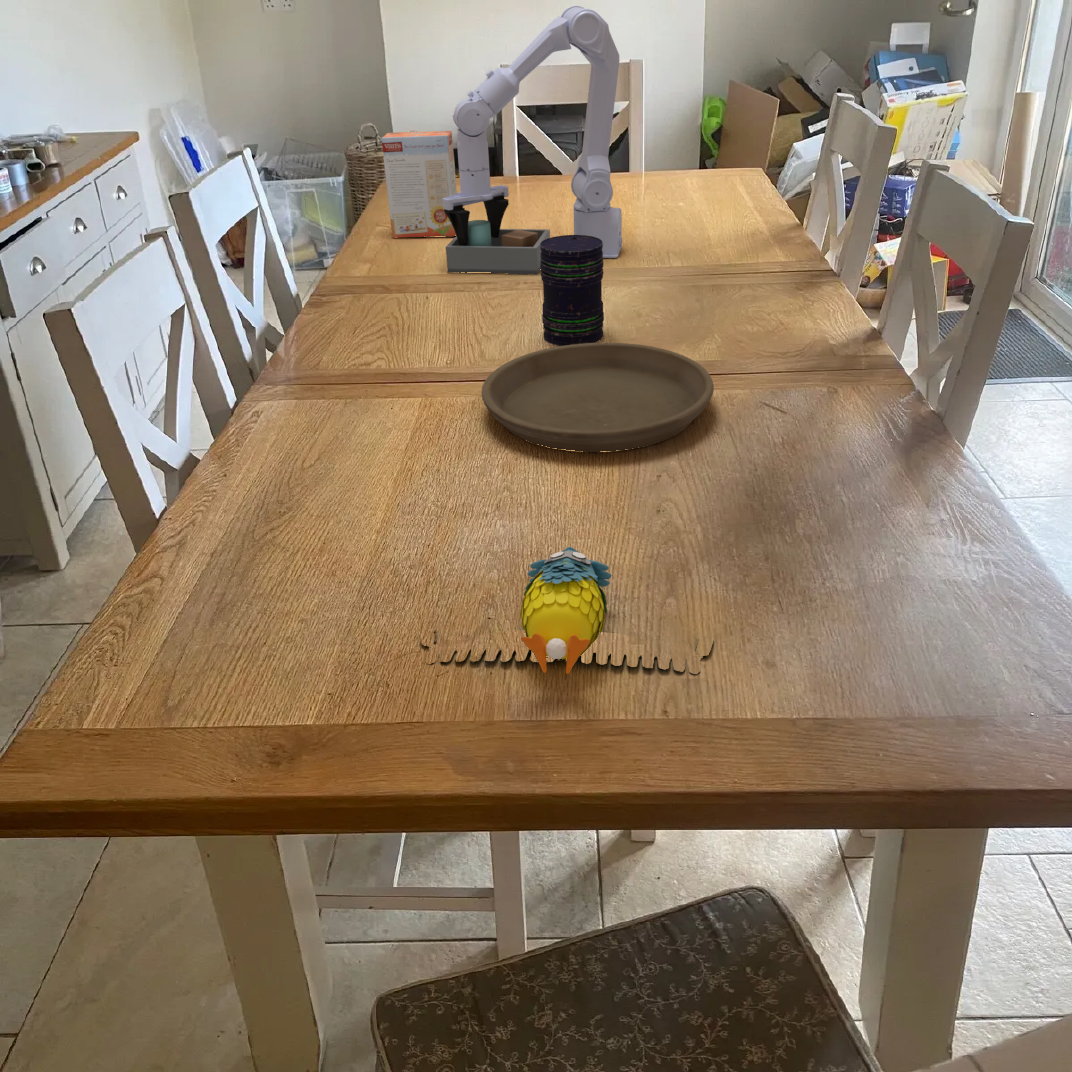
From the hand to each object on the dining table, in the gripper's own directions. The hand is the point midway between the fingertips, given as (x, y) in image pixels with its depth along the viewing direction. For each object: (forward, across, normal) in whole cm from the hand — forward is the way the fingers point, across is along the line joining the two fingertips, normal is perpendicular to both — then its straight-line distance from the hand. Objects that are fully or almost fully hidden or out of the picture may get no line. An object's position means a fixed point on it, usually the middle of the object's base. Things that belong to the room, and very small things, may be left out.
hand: (478, 240), depth 206 cm
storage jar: (+5, -16, -44) cm, 47 cm away
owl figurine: (+5, -73, -104) cm, 127 cm away
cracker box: (+5, +6, +26) cm, 27 cm away
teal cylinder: (+4, 0, 0) cm, 4 cm away
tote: (+4, +2, -3) cm, 6 cm away
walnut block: (+4, +5, -6) cm, 9 cm away
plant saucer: (+5, -34, -68) cm, 76 cm away
